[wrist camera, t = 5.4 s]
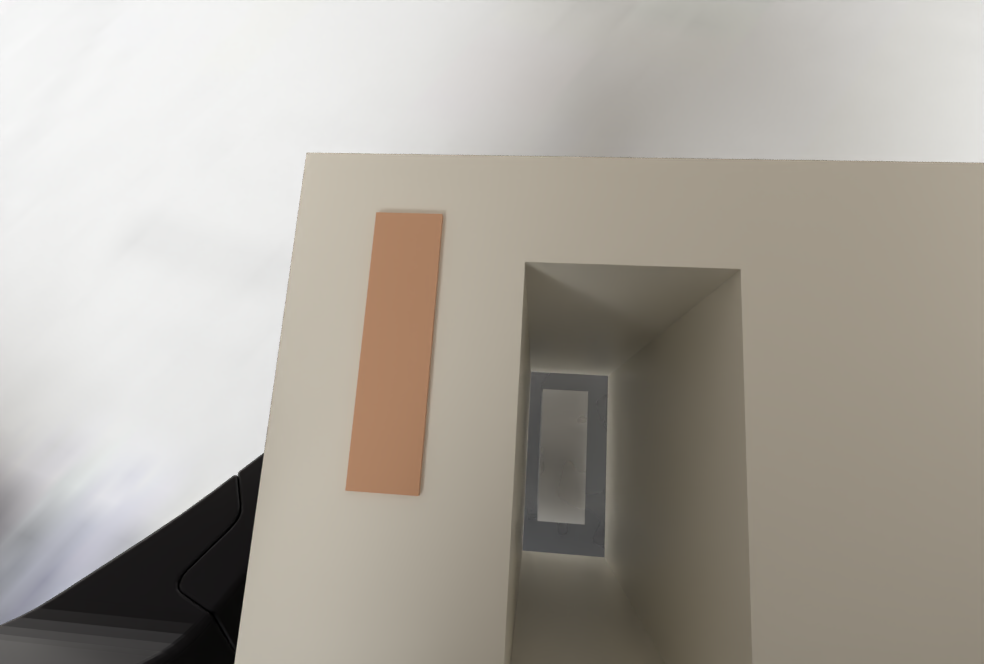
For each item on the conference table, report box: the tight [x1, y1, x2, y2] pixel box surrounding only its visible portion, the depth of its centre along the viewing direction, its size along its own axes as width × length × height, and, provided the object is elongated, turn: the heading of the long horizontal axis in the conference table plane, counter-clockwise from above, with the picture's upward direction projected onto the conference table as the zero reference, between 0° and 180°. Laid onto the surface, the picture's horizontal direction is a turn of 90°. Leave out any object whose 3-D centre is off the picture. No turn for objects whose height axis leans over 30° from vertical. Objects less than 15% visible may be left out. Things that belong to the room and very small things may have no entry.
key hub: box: [522, 372, 608, 557], centre depth 17 cm, size 14×14×6 cm
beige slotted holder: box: [234, 153, 984, 664], centre depth 8 cm, size 6×6×8 cm
